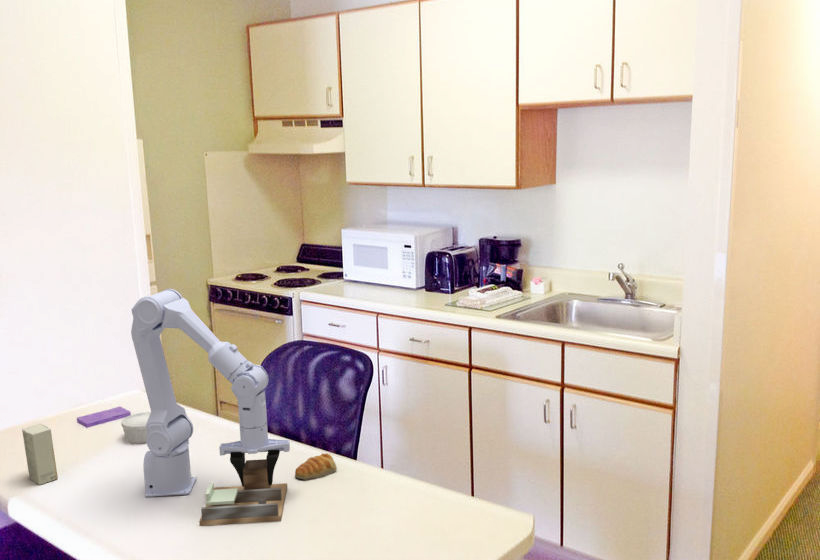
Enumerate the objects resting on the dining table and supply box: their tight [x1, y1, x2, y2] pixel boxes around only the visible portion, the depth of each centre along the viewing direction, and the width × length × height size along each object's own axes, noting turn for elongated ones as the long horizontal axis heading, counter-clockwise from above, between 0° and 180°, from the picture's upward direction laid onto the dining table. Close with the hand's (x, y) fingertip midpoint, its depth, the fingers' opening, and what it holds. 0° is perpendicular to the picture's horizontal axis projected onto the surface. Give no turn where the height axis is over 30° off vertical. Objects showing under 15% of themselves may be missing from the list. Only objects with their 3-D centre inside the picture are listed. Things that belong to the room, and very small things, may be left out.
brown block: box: [243, 459, 271, 490], centre depth 161 cm, size 5×5×6 cm
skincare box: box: [21, 423, 59, 486], centre depth 171 cm, size 6×4×12 cm
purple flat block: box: [76, 406, 132, 429], centre depth 211 cm, size 7×13×2 cm, turn 134°
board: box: [198, 482, 288, 527], centre depth 156 cm, size 16×15×3 cm
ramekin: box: [120, 411, 151, 445], centre depth 196 cm, size 11×11×5 cm
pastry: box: [294, 453, 338, 481], centre depth 171 cm, size 9×7×4 cm
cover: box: [204, 482, 238, 506], centre depth 152 cm, size 6×6×2 cm
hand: (257, 483), depth 161 cm, fingers closed on brown block, 5 cm apart
